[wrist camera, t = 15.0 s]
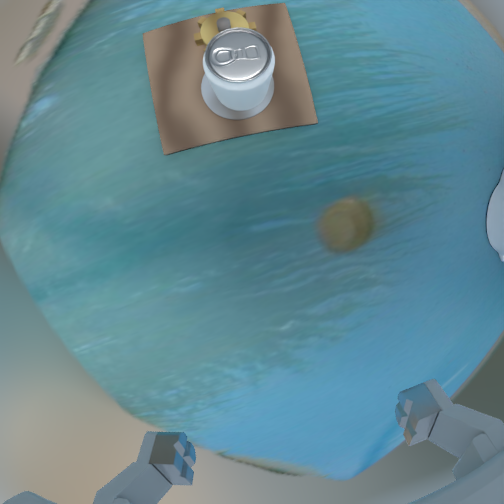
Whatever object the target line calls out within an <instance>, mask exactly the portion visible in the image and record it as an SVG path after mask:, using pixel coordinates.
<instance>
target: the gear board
mask: <svg viewBox="0 0 504 504" xmlns="http://www.w3.org/2000/svg"><path fill="white" fill-rule="evenodd" d="M215 11H216V13H212V14H208V15H203V16H199V17H195V18H191V19H188V20H184V21H180V22H177V23H174V24H170V25H167V26H164V27H161V28H158V29H155V30H152V31H149V32H146V33H143V40H144V47H145V54H146V61H147V67H148V74H149V80H150V86H151V91H152V97H153V103H154V108H155V113H156V118H157V123H158V128H159V133H160V138H161V143H162V148H163V152H164V155H169V154H172V153H176V152H179V151H183V150H187V149H191V148H194V147H198V146H202V145H206V144H210V143H215V142H219V141H223V140H228V139H232V138H237V137H242V136H247V135H252V134H257V133H262V132H268V131H273V130H279V129H285V128H292V127H298V126H305V125H313V124H317V123H318V121H317V116H316V112H315V107H314V103H313V99H312V95H311V90H310V86H309V82H308V78H307V75H306V71H305V67H304V63H303V60H302V56H301V53H300V49H299V46H298V42H297V39H296V36H295V32H294V29H293V26H292V23H291V20H290V17H289V14H288V11H287V8H286V5H285V3H279V4H268V5H260V6H252V7H245V8H239V9H233V10H227V11H224V8H219V9H215ZM236 27H242V28H249V29H252V30H255V31H257V32H258V33H260V34H261V35H263V36H264V37H265V38H266V39H267V41H268V42H269V44H270V46H271V48H272V50H273V52H274V56H275V65H274V70H273V74H272V77H271V81H270V84H269V88H268V91H267V94H266V96H265V98H264V100H263V101H262V102H261V103H260V104H259V105H257V106H256V107H254V108H252V109H249V110H244V111H237V110H232V109H230V108H227V107H226V106H224V105H223V104H222V103H221V102H220V101H219V100H218V98H217V96H216V94H215V92H214V90H213V88H212V86H211V84H210V82H209V80H208V78H207V76H206V74H205V71H204V68H203V56H204V53H205V50H206V47H207V45H208V43H209V42H210V40H211V39H212V38H213V37H214V36H215V35H217V34H218V33H220V32H222V31H224V30H226V29H230V28H236Z"/></svg>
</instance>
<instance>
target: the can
mask: <svg viewBox="0 0 504 504" xmlns="http://www.w3.org/2000/svg"><path fill="white" fill-rule="evenodd" d="M274 65H275V56H274V52H273V50H272V48H271V46H270V44H269V42H268V41H267V39H266V38H265V37H264V36H263V35H261V34H260V33H258V32H257V31H255V30H252V29H249V28H242V27H236V28H230V29H226V30H224V31H222V32H220V33H218V34H217V35H215V36H214V37H213V38H212V39H211V40H210V42H209V43H208V45H207V47H206V50H205V53H204V56H203V68H204V71H205V74H206V76H207V78H208V80H209V82H210V84H211V86H212V88H213V90H214V92H215V94H216V96H217V98H218V100H219V101H220V102H221V103H222V104H223V105H224V106H226V107H227V108H230V109H232V110H237V111H244V110H249V109H252V108H254V107H256V106H257V105H259V104H260V103H261V102H262V101H263V100H264V98H265V96H266V94H267V91H268V88H269V84H270V81H271V77H272V74H273V70H274Z"/></svg>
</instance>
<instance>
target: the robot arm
mask: <svg viewBox="0 0 504 504" xmlns="http://www.w3.org/2000/svg"><path fill="white" fill-rule="evenodd" d="M487 234H488V238H489V242H490V244H491V246H492V247H493V248H494V249H495V250H496V251H497V252H498V253H499V256H500V259H501V261H502V262H504V170H503V172H502V176H501V179H500V182H499V184H498V185H497V187H496V188H495V190H494V192H493V194H492V196H491V199H490V202H489V206H488V212H487ZM398 400H399V403H398V404H397V405H396V409H395V414H396V419H397V422H398V424H399V426H400V427H402V428H404V429H405V430H404V434H403V435H404V437H405V439H406V441H407V443H408V445H409V446H411V445H414V444H416V443H419V442H421V441H424V440H426V439H428V440H429V441H431V442H433V443H435V444H436V445H438V446H439V447H441V448H443V449H444V450H446V451H448V452H450V453H451V454H453V455H455V456H456V457H458V458H460V459H459V461H458V462H457V464H456V465H455V467H454V468H453V470H452V472H453V474H454V476H455V478H456V481H454V482H452V483H451V484H449V485H447V486H445V487H443V488H441V489H439V490H437V491H435V492H433V493H431V494H429V495H426V496H424V497H422V498H420V499H418V500H415V501H413V502H411V503H408V504H504V424H503V422H502V421H501V420H500V419H497V418H494V417H491V416H489V415H486V414H483V413H480V412H477V411H475V410H472V409H470V408H467V407H464V406H461V405H459V404H454V405H453V403H452V402H451V400H450V399H449V397H448V396H447V395H446V393H445V392H444V390H443V389H442V388H441V386H440V385H439V384H438V382H437V381H436V380H435V379H431V380H429V381H426V382H424V383H421V384H418V385H416V386H414V387H411V388H409V389H406V390H403V391H401V392H400V393H399V394H398ZM195 460H196V456H195V449H194V446H193V445H192V443H190V442H188V441H187V436H186V434H185V433H184V432H149V431H148V432H147V433H146V434H145V436H144V439H143V442H142V445H141V449H140V452H139V455H138V459H137V461H136V462H133V463H132V464H131V465H130V466H128V467H127V468H126V469H125V470H123V471H122V472H121V473H120V474H118V475H117V476H116V477H115V478H114V479H112V480H111V481H110V482H109V483H107V484H106V485H105V486H104V487H102V488H101V489H100V490H98V491H97V493H96V496H95V499H94V502H93V504H157V503H158V502H159V501H160V500H161V498H162V497H163V496H164V495H165V494H166V493H167V492H168V490H169V489H170V488H171V487H172V485H192V481H193V474H194V472H193V470H192V469H191V467H192V466H193V465H194V464H195ZM3 504H57V503H54V502H52V501H50V500H47V499H45V498H43V497H41V496H39V495H37V494H35V493H32V492H29V491H25V492H22V493H20V494H18V495H16V496H14V497H12V498H10V499H8V500H7V501H5V502H4V503H3Z"/></svg>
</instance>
